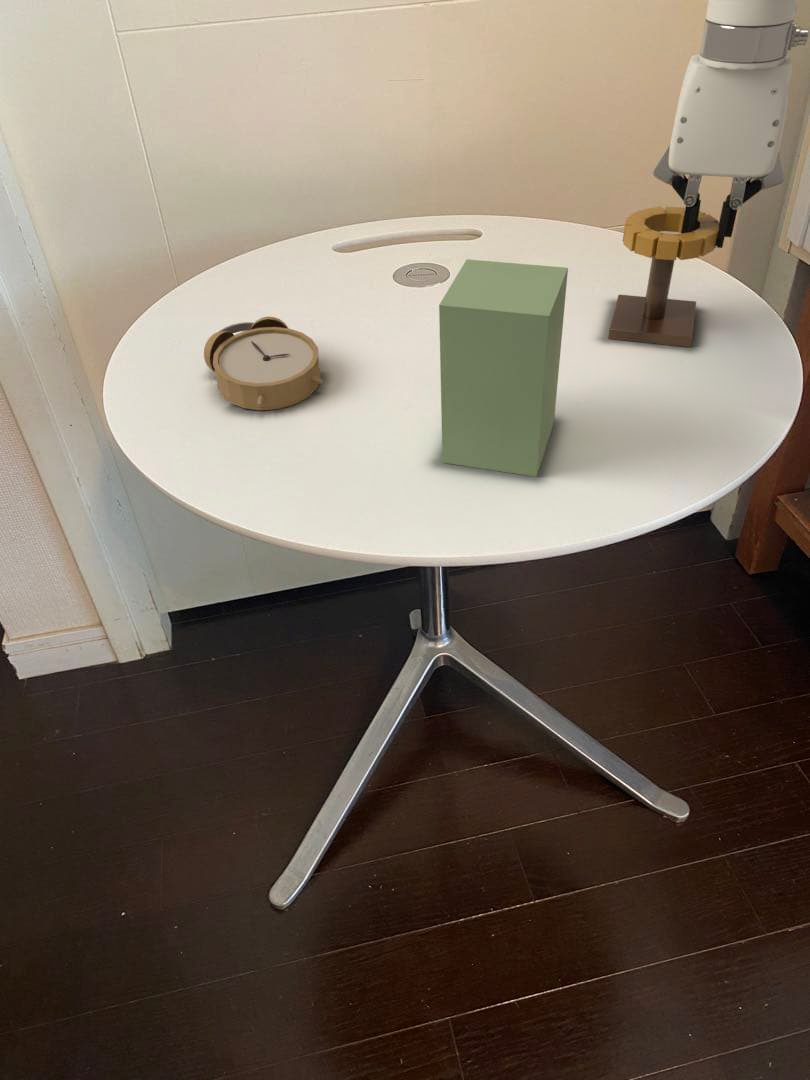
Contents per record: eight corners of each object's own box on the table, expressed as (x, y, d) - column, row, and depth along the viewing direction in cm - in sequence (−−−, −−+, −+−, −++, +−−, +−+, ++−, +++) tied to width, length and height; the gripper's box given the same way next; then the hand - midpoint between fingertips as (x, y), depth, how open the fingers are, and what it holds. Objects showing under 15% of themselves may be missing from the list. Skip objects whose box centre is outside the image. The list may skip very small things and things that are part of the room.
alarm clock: (241, 400, 80) (181, 320, 88) (246, 436, 84) (188, 357, 92) (339, 365, 85) (273, 292, 92) (339, 401, 88) (277, 327, 96)
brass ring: (717, 227, 89) (720, 209, 88) (714, 263, 83) (718, 244, 81) (628, 222, 92) (630, 204, 90) (618, 256, 85) (620, 237, 84)
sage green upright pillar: (554, 422, 80) (568, 267, 69) (536, 477, 74) (549, 315, 63) (466, 411, 82) (466, 259, 72) (442, 462, 76) (438, 304, 65)
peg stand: (694, 310, 96) (712, 224, 89) (690, 347, 90) (708, 258, 83) (617, 303, 98) (628, 219, 91) (607, 338, 92) (619, 251, 85)
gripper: (837, 34, 74) (784, 233, 87) (657, 33, 78) (630, 223, 91) (843, 53, 69) (786, 262, 81) (650, 50, 73) (623, 250, 85)
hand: (704, 240), depth 86 cm, fingers closed on brass ring, 2 cm apart
